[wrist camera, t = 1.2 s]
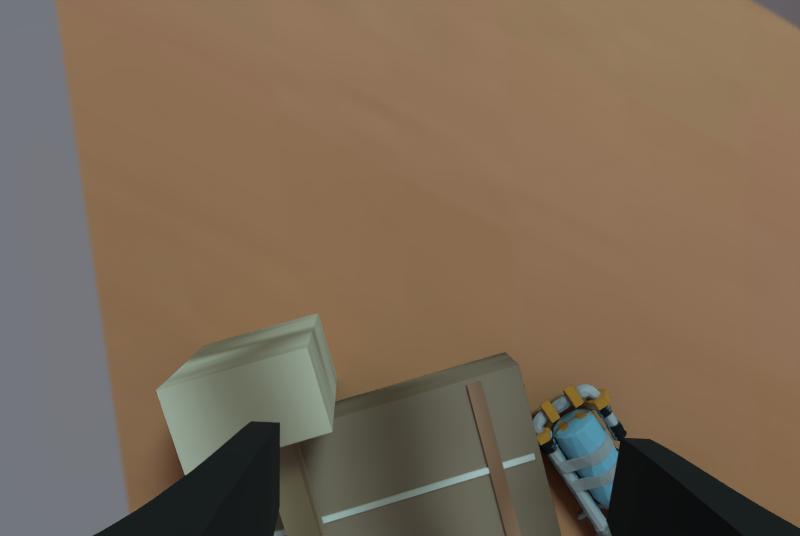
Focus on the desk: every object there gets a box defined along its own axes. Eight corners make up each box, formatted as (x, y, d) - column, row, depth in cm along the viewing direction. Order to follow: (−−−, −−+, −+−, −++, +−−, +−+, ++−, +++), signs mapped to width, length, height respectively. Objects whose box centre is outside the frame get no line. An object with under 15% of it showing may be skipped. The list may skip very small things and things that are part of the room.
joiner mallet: (262, 524, 25) (234, 622, 19) (204, 345, 24) (156, 390, 18) (370, 491, 25) (376, 578, 19) (317, 313, 24) (307, 347, 18)
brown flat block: (280, 617, 25) (273, 654, 23) (220, 435, 24) (208, 456, 22) (551, 533, 26) (568, 561, 24) (505, 352, 25) (519, 365, 23)
